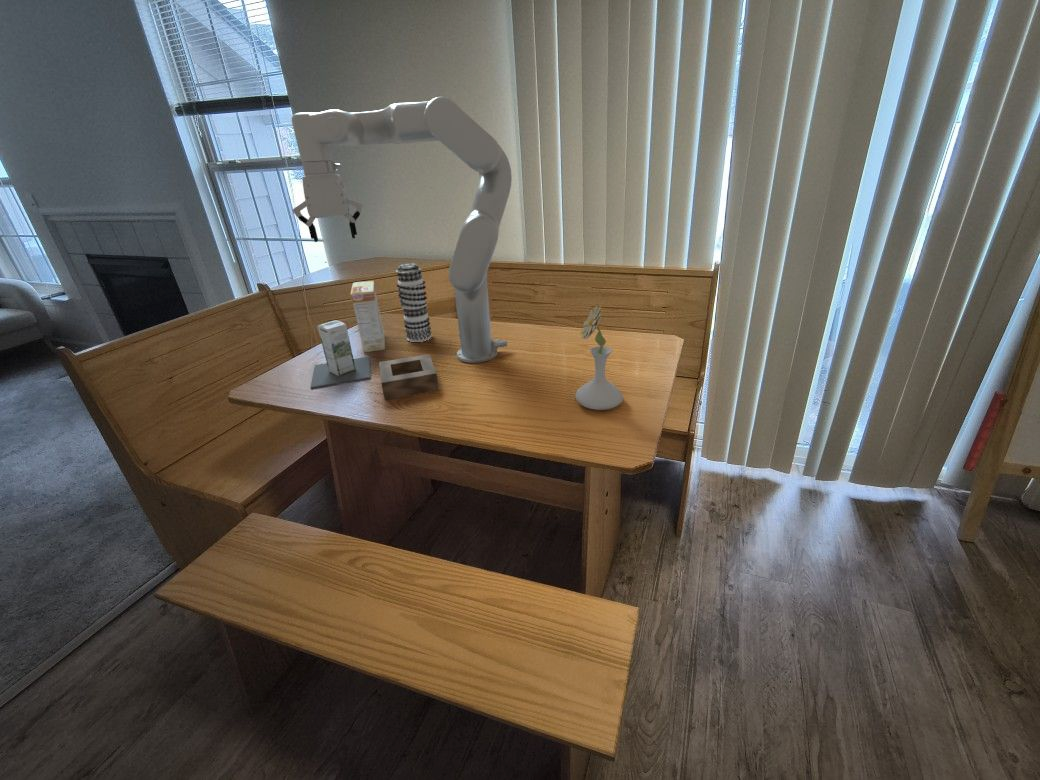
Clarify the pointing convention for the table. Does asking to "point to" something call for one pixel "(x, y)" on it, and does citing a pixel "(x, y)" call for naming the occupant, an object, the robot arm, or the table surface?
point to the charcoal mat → (328, 379)
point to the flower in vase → (598, 371)
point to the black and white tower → (413, 302)
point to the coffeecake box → (368, 316)
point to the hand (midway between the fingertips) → (335, 239)
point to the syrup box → (337, 347)
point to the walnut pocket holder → (408, 376)
